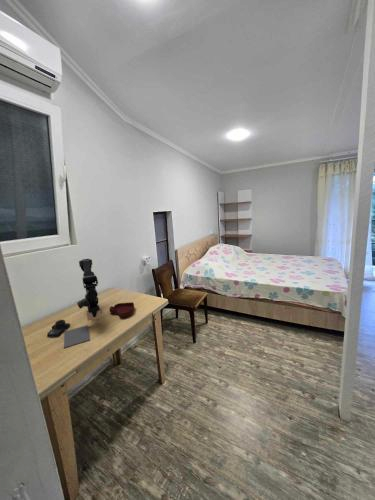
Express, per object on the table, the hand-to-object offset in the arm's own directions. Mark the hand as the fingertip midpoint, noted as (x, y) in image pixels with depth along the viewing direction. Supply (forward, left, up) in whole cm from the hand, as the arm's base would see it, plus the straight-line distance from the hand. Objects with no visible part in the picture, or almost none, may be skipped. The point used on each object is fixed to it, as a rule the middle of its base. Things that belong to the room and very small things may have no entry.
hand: (94, 316), depth 133 cm
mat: (+8, -11, -6) cm, 15 cm away
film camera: (-4, -20, -6) cm, 22 cm away
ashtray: (-6, +21, -6) cm, 22 cm away
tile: (0, 0, -2) cm, 2 cm away
